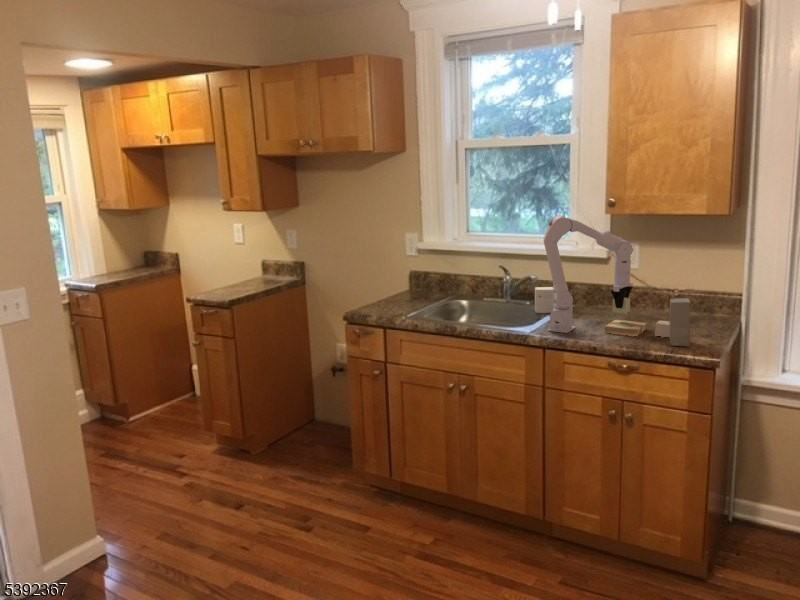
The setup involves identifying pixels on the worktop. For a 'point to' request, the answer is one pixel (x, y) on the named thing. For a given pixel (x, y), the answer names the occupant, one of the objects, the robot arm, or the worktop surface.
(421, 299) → the worktop surface
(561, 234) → the robot arm
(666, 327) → the grey block
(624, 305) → the sage block
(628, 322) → the birch base block
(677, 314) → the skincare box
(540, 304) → the small box
